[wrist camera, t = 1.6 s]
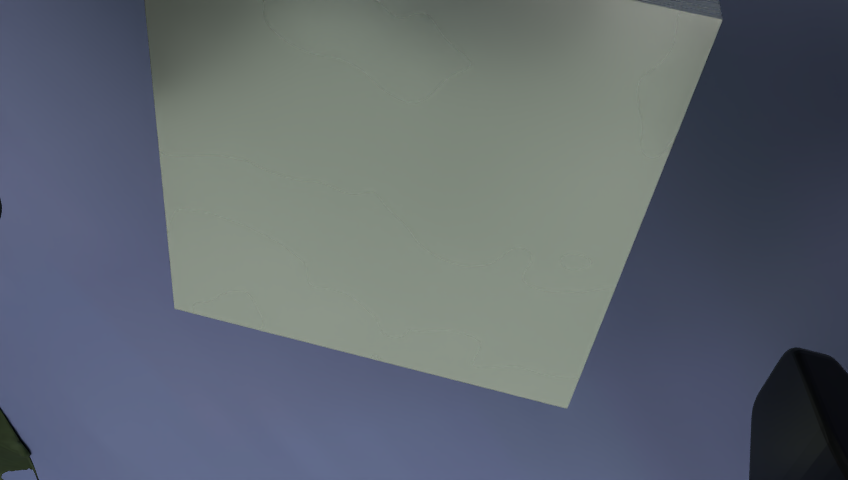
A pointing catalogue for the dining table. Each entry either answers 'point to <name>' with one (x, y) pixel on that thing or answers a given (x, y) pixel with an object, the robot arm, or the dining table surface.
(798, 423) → the robot arm
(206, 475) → the dining table surface
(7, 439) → the rose bouquet
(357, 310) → the brushed grey cube
